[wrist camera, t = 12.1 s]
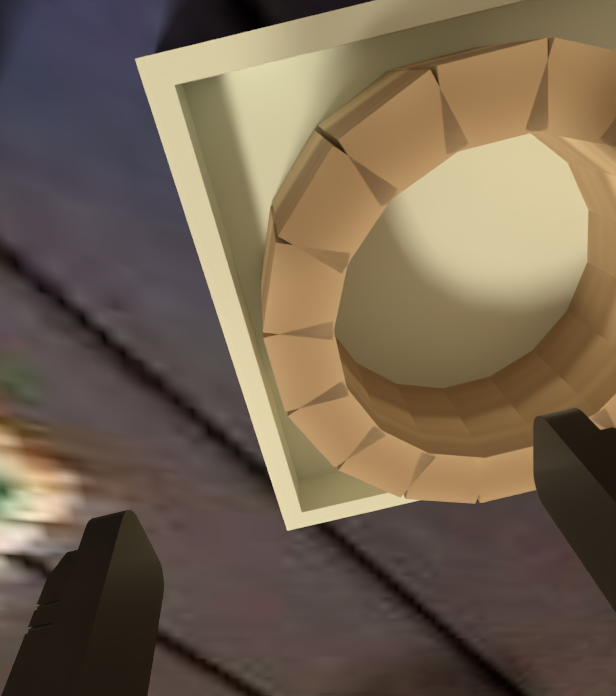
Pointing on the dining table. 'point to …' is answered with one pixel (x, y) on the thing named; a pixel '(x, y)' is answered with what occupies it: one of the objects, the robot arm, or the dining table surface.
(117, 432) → the dining table surface
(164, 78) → the tray
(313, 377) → the wooden ring
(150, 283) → the dining table surface
